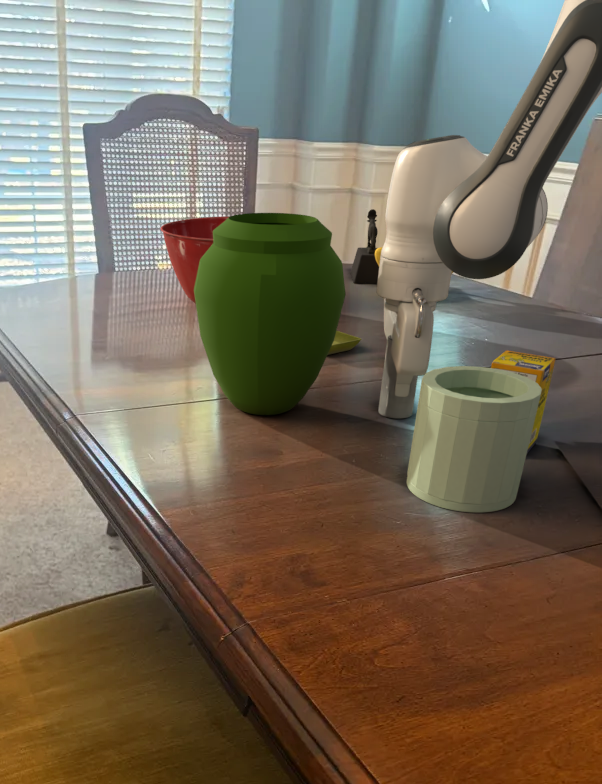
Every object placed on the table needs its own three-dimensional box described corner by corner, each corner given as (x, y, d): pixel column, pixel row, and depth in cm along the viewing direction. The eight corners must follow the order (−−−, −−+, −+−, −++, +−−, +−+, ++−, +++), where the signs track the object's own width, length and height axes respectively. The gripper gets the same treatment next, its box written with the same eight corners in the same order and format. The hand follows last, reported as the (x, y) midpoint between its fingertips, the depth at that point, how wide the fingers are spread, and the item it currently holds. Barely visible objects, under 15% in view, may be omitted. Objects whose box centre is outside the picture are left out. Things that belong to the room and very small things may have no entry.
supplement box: (536, 443, 96) (557, 357, 91) (524, 459, 92) (545, 369, 86) (488, 432, 99) (505, 348, 94) (474, 447, 95) (491, 360, 89)
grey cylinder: (415, 410, 106) (426, 335, 101) (408, 421, 102) (419, 344, 97) (382, 405, 108) (391, 331, 103) (374, 415, 104) (384, 339, 99)
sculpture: (382, 273, 189) (390, 207, 182) (386, 284, 178) (394, 214, 170) (350, 272, 190) (357, 206, 183) (351, 283, 179) (358, 213, 171)
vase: (362, 407, 107) (384, 219, 95) (270, 444, 95) (282, 235, 83) (257, 375, 119) (265, 205, 107) (164, 405, 107) (161, 217, 95)
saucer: (323, 359, 127) (324, 346, 126) (289, 346, 133) (290, 334, 132) (361, 351, 131) (363, 338, 130) (327, 339, 137) (328, 327, 136)
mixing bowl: (249, 331, 142) (253, 242, 134) (133, 308, 157) (130, 226, 149) (324, 303, 161) (331, 224, 154) (214, 285, 176) (216, 212, 168)
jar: (503, 469, 89) (526, 368, 83) (527, 516, 79) (555, 405, 73) (401, 463, 90) (416, 363, 85) (412, 509, 81) (430, 399, 75)
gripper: (452, 300, 87) (433, 416, 94) (428, 266, 105) (414, 366, 112) (395, 298, 88) (380, 413, 95) (381, 265, 105) (369, 364, 112)
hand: (398, 387), depth 103 cm, fingers closed on grey cylinder, 4 cm apart
